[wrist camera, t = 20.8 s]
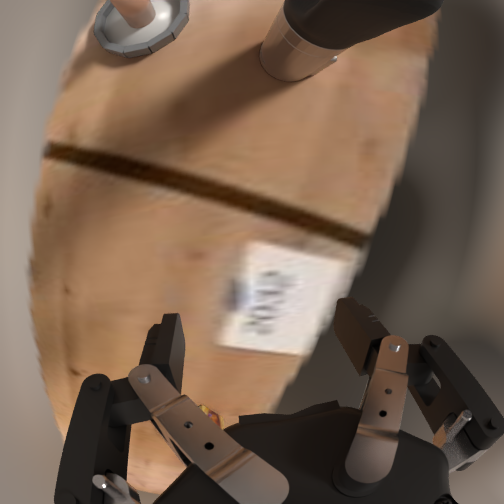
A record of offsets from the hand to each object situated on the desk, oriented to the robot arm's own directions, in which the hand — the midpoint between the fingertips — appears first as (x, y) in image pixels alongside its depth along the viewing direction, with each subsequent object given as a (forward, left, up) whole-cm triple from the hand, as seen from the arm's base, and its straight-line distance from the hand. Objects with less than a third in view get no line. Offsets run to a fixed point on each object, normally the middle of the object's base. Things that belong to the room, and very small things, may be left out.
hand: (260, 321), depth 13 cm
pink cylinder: (+14, -34, -32) cm, 49 cm away
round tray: (+14, -34, -33) cm, 49 cm away
